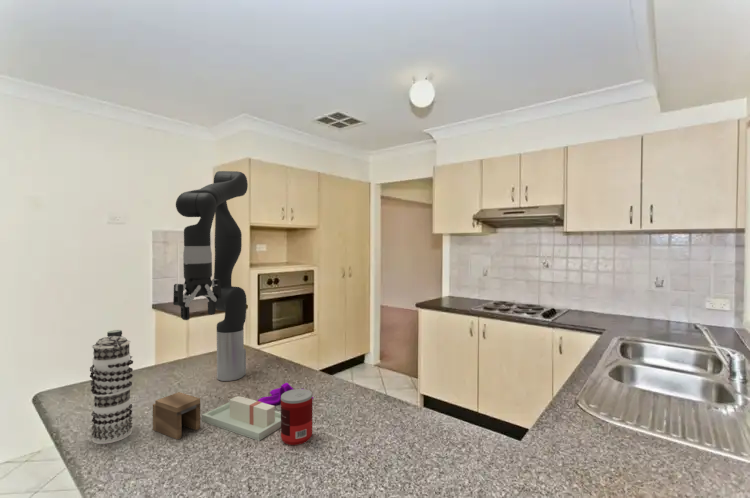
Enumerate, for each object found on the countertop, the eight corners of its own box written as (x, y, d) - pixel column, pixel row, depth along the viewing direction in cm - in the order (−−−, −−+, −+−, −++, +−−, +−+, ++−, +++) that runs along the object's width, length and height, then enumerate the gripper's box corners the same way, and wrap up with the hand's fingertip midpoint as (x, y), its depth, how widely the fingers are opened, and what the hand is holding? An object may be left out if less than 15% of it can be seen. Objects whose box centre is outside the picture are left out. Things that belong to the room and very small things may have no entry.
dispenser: (176, 419, 106) (176, 391, 106) (200, 428, 101) (200, 398, 101) (152, 429, 100) (152, 399, 100) (177, 439, 95) (176, 407, 95)
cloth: (302, 420, 107) (302, 398, 107) (243, 413, 111) (243, 392, 111) (329, 390, 129) (329, 372, 129) (278, 385, 133) (278, 368, 133)
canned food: (317, 432, 99) (317, 390, 99) (302, 448, 92) (302, 402, 91) (291, 427, 102) (291, 386, 101) (274, 442, 94) (274, 398, 94)
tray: (235, 405, 116) (235, 399, 116) (290, 421, 105) (290, 415, 105) (201, 421, 105) (201, 414, 105) (258, 440, 95) (258, 433, 95)
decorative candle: (139, 424, 103) (138, 332, 103) (126, 442, 94) (125, 341, 94) (100, 428, 101) (99, 334, 100) (83, 447, 92) (82, 343, 91)
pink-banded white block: (238, 413, 109) (238, 395, 109) (275, 424, 102) (275, 405, 102) (229, 417, 106) (229, 399, 106) (266, 429, 100) (266, 410, 99)
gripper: (209, 259, 119) (210, 311, 120) (166, 262, 106) (167, 320, 107) (226, 260, 116) (227, 313, 116) (184, 263, 103) (185, 323, 104)
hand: (198, 316), depth 112 cm, fingers open, 8 cm apart
